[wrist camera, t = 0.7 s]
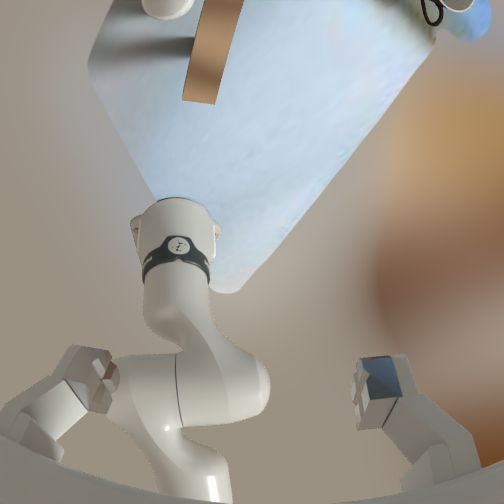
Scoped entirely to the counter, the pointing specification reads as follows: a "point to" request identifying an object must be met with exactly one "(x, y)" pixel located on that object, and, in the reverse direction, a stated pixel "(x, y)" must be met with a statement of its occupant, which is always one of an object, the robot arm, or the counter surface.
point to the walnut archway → (211, 49)
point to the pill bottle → (166, 8)
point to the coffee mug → (458, 3)
